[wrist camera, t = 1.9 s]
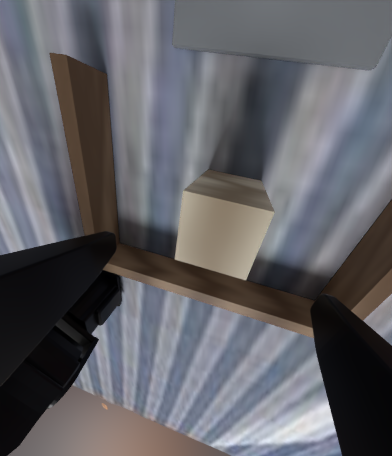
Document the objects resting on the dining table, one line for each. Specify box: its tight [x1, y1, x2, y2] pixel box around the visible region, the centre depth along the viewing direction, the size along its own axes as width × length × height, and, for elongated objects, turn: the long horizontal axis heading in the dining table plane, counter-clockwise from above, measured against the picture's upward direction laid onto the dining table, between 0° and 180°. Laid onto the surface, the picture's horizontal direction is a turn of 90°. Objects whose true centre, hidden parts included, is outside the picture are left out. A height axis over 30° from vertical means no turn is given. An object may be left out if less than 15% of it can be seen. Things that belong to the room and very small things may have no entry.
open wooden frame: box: [50, 53, 392, 338], centre depth 14 cm, size 25×17×4 cm
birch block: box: [175, 170, 275, 280], centre depth 12 cm, size 4×4×7 cm
